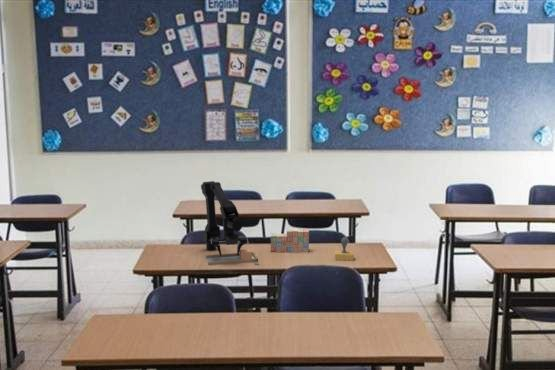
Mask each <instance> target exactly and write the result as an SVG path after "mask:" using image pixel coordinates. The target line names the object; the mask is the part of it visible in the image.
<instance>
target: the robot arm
mask: <svg viewBox="0 0 555 370" xmlns="http://www.w3.org/2000/svg"><path fill="white" fill-rule="evenodd" d="M200 189H201V193H202V195H203V196H204V197H205V208H206V219H207V221H206V223H207V224H206V225H205V228H204V233H203V235H202V241H203V242H205V243H206V244H205V245H206V246H205V249H204V250H205V251H206V250H207V251H210V252H212V251H216V250H217V251H218V254H220V257H221V254H222V251H221V243H225V244H226V246H229V245H233V246H234V245H235V244H237V246H236V253H237V256H238V254H239V251H240V250H242V247H243V246H244V245H245V244H247V243H248V238H247V236H246V235H239V234H235V232H237V233H238V232H240V231H241V230H242V228H243V223H242V222H241V221H240V220H239V217H240V216H239V212H238V209H237V207H236V205H235V204H234V202H233V201H232V200H230V199H229V198H228V196H227V195H226V193H225V190H223V188H222V184H221V182H219V181H217V182H216V181H214V180H211V181H202V184H200ZM215 198H216V200H217V202H218V203H219V205H220V207H219V211H220V213H221V218H222V228H223V232H222V233H223V235H222V236H223V237H222V238H221V234H222V233H221V227H220V226H219V225H218V224H217V223H218V222H217V218H216V217H217V215H216V202H215ZM236 242H237V243H236Z"/></svg>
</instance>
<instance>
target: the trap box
mask: <svg viewBox="0 0 555 370" xmlns="http://www.w3.org/2000/svg"><path fill="white" fill-rule="evenodd" d="M205 259H206V262H207V265H208V266H215V265H230V264H231V265H232V264H244V263H245V264H246V263H254V265H255V266H257V265H259V258H258V257H257V255H256V253H255V252H254V251H252V259H242V260H241V259H240V257H239V254H238V256H237V252H236V253H235V252H233V253H221V257H220V254H219V253H218V254H206V255H205Z"/></svg>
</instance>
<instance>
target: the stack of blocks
mask: <svg viewBox="0 0 555 370" xmlns="http://www.w3.org/2000/svg"><path fill="white" fill-rule="evenodd" d="M309 244H310V229H309V228H287V229H286V233H271V234H270V252H271V253H302V252H308V253H309V250H310V249H309Z"/></svg>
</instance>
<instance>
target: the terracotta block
mask: <svg viewBox="0 0 555 370" xmlns="http://www.w3.org/2000/svg"><path fill="white" fill-rule="evenodd" d="M252 252H253V251H252V249H251V248H247V249H246V248H243V249H240V251H239V257H240V259H241V260H242V259H252Z"/></svg>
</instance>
